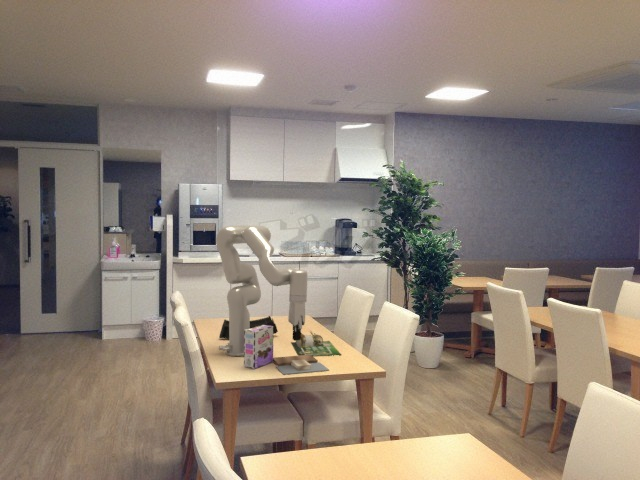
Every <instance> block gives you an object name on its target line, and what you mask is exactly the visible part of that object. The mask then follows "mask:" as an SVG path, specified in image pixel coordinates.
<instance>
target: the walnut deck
mask: <svg viewBox="0 0 640 480" xmlns="http://www.w3.org/2000/svg"><path fill="white" fill-rule="evenodd" d="M293 360H306V361H307V362H308V363H319V361H318V359H317V358H315V356H314V357H313V356H311V355H300V356H298V355H291V356H290V355H288V356H280V357H279V356H278V357H273V362H272V363H273V364H275V366H285V365H291V361H293Z"/></svg>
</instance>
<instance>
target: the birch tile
mask: <svg viewBox="0 0 640 480" xmlns="http://www.w3.org/2000/svg"><path fill="white" fill-rule="evenodd" d="M291 366H293V367H294V368H295V369H296V370H297V371H301V370H311V364H309V363H308V362H307V361H306V360H293V361H291Z"/></svg>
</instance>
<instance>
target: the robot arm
mask: <svg viewBox="0 0 640 480" xmlns="http://www.w3.org/2000/svg"><path fill="white" fill-rule="evenodd" d="M271 237H272V233H271V231H270V230H269V227H266V226H265V225H227V226H223V227H222V228H220V229H219V230H218V232H217V234H216V236H215V243H216V248H217V250H218V253H219V256H220V261H221V264H222V268H223V269H222V270H223V273H224V277H225V280H226V282H227V283H229V284H230V285H238V284H242V285H239V286H234V287H231V289H229V290H228V292H227V295H226V301H227V305H228V316H229V317H228V319H229V320H228V321H229V339H228V342H227V344H225V345H219V346H218V350H219V351H225V354H226V355H227V356H231V357H244V330H246V329H250V321H251V320H250V317H251V316H250V312H249V309H248V306H251V305H255V304H257V303H258V302H259V301H260V300H261V298H262V293H261V286H260V282H259V278H258V274H257V271H256V268H255V267H254V266H253V265H252V264H251V263H250V262H242V261H241V259H240V254H239V252H238V250H237V249H236V247H235V246H234V245H235V244H236V245H237V244H238V245H240V244H246V245H247V246H248V247H249V249H250V251H252V252H253V254H254V255H255V257H256V258H257V259H258V268H259V271H260V273H261V275H262V276H263V277H264V278H265V280H266V281H267V282H268V283H269V284H270V285H271V286H274V287H279V286H280V287H281V286H288V285H289V296H288V297H289V300H288V302H289V307H288V319H287V320H288V323H290V324H291V325H292V341H295V342H296V340H301V333H302V329H303V326H304V325H305V324H306V303H307V302H308V301H307V299H308V298H307V297H308V272H307V270H305V269H295V268H293V267H280V268H278V267H276V266H275V265H274V264H273V262H272V260H271V257H272V256H273V254H274V251H275V248H274V246H273V245H272V244H271V242H270V240H271Z"/></svg>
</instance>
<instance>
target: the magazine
mask: <svg viewBox="0 0 640 480" xmlns="http://www.w3.org/2000/svg"><path fill="white" fill-rule="evenodd" d="M261 325H268V326H273V335H274V334H277V333H278V327H277V324H276V323H275V320H274V318H273V317H271V315H268V316H267V317H264V318H258V319H253V320H250V328H254V327H258V326H261ZM218 338H219V339H228V340H229V320H227V319H224V320H223V323H222V324H221V329H220V333H219V335H218Z"/></svg>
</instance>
